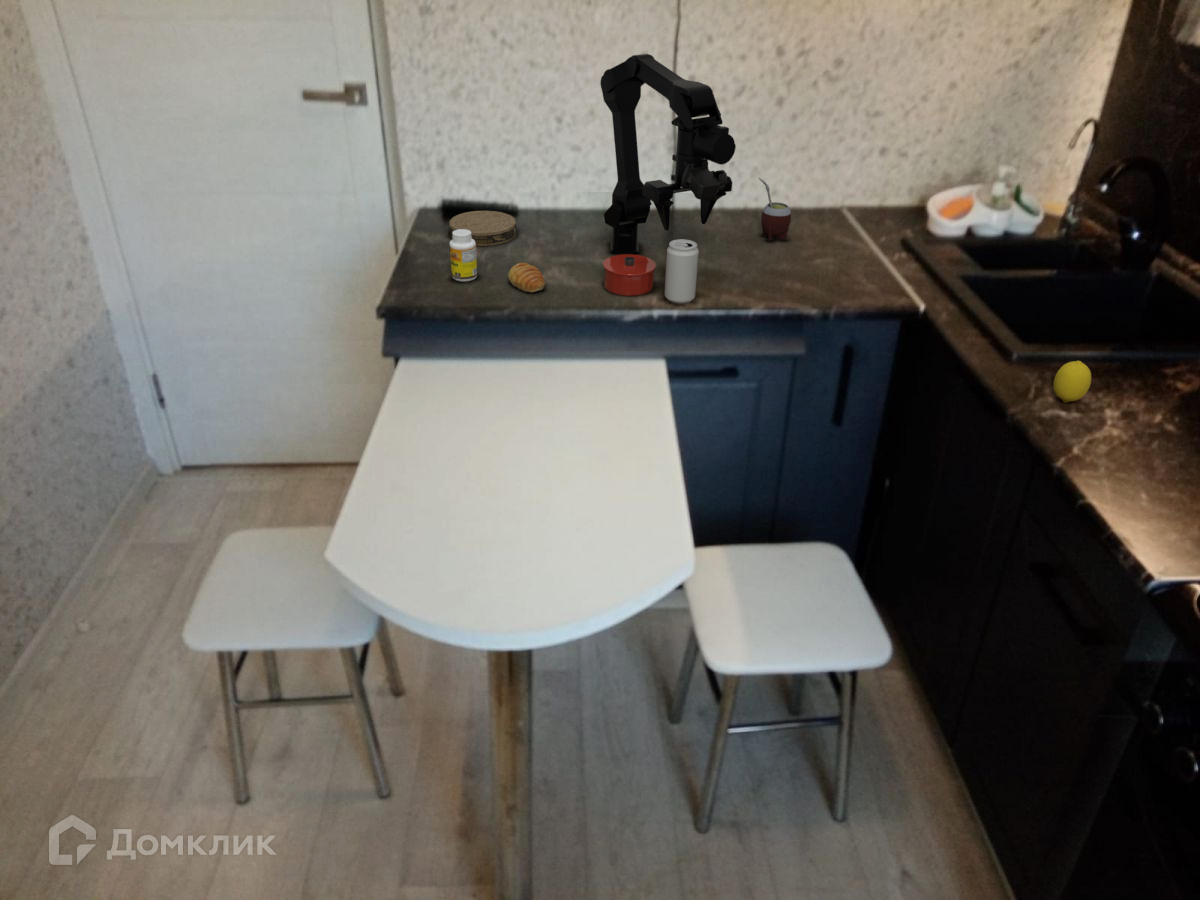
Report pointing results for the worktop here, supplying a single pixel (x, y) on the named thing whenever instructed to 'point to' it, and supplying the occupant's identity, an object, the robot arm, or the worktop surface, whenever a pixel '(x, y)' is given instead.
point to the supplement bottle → (463, 256)
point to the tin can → (485, 226)
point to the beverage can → (681, 271)
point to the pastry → (526, 277)
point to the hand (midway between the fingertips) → (684, 227)
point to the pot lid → (629, 265)
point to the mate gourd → (775, 219)
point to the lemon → (1072, 381)
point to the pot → (628, 283)
